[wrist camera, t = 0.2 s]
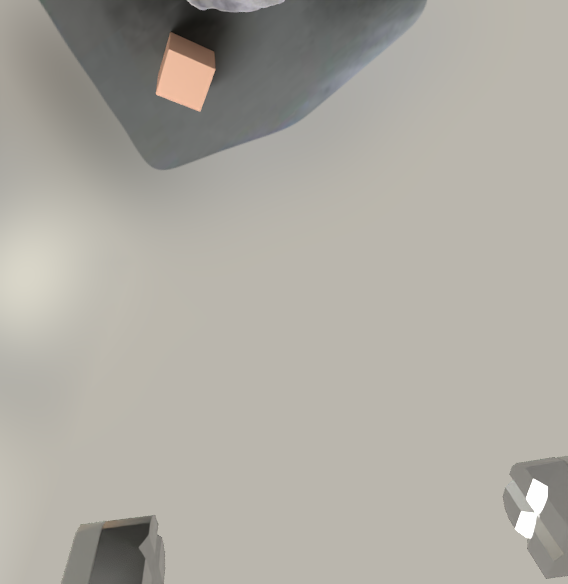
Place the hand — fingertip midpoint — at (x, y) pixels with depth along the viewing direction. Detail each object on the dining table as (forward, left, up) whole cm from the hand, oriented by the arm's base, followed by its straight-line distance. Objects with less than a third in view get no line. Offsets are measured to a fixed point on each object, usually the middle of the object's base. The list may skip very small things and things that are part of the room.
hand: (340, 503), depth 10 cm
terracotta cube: (+11, +2, -52) cm, 53 cm away
